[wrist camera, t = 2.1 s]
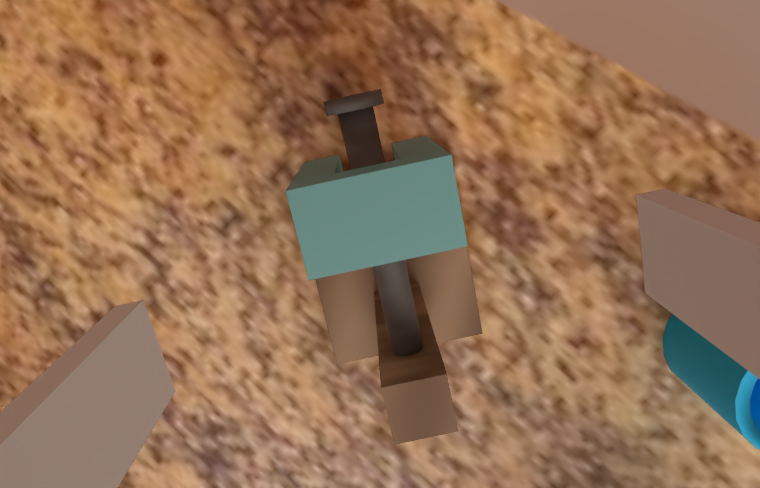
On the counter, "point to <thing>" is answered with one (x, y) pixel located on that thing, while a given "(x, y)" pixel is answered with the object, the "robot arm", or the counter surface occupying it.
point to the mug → (714, 378)
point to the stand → (399, 305)
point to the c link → (376, 209)
